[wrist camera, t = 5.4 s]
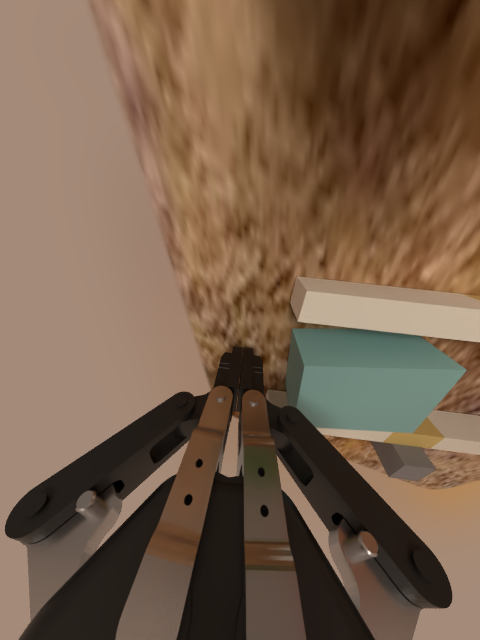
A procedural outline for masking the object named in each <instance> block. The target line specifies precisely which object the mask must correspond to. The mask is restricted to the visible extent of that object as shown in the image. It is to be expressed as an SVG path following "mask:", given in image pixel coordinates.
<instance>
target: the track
mask: <svg viewBox="0 0 480 640" xmlns="http://www.w3.org/2000/svg"><path fill="white" fill-rule="evenodd" d="M290 304H291V306H292V309H293V311H294V314H295V316H296V319H297V321H298V322H304V323H313V324H322V325H331V326H340V327H349V328H357V329H366V330H375V331H384V332H393V333H401V334H410V335H419V336H428V337H437V338H445V339H454V340H463V341H472V342H480V296H476V295H467V294H457V293H448V292H439V291H429V290H420V289H411V288H401V287H392V286H383V285H373V284H364V283H355V282H345V281H336V280H326V279H317V278H308V277H298V276H297V277H296V281H295V285H294V289H293V293H292V297H291V301H290ZM266 399H267V400H268V401H269V402H270V403H272V404H274V405H276V406H278V407H280V408H282V407H284V406H289V403H288V397H287V392H285V391H277V390H269V389H268V390H267V394H266ZM316 429H317V430H318V431H319V432H320V433H321V434H322V435H330V436H338V437H345V438H353V439H361V440H368V441H371V443H372V445H373V447H374V449H375V451H376V453H377V455H378V457H379V459H380V461H381V463H382V465H383V467H384V469H385V470H386V472H387V474H388V476H389V477H392V478H399V479H407V480H414V481H418V480H420V479H422V478H423V477H425V476H427V475H428V474H430V473H431V472H433V471H435V470H436V468H435V466H434V465H433V464H432V462H431V461H430V459H429V458H428V457H427V455H426V454H425V453H424V451H423V450H422V448H430V449H438V450H446V451H453V452H461V453H469V454H476V455H480V416H479V415H471V414H463V413H455V412H447V411H438V410H432V411H431V413H430V414H429V415H428V416H427V417H426V418H425V420H424V421H423V422H422V423H421V424H420V425H419V427H418V428H417V429H416V430H415V431H414V432H413V433H401V432H383V431H365V430H347V429H329V428H316ZM421 447H422V448H421Z"/></svg>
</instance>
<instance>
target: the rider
mask: <svg viewBox="0 0 480 640" xmlns="http://www.w3.org/2000/svg"><path fill="white" fill-rule="evenodd" d="M466 371H467V370H466V369H465V368H464V367H462V366H461V365H459V364H458V363H457V362H455V361H454V360H452V359H451V358H450V357H448V356H447V355H445V354H444V353H443V352H441V351H440V350H438V349H437V348H436V347H434V346H433V345H432V344H430V343H429V342H427V341H426V340H425V339H423V338H422V337H420V336H419V335H410V334H401V333H393V332H384V331H375V330H366V329H292V334H291V342H290V349H289V357H288V365H287V373H286V381H285V386H286V391H287V397H288V403H289V406H293V407H295V408H297V409H298V410H299V411H300V412H301V413H302V414H303V415H304V416H305V417H306V418H307V419H308V420H309V421H310V422H311V423H312V424H313V425H314V426H315V427H316V428H329V429H347V430H365V431H383V432H401V433H413V432H414V431H415V430H416V429H417V428H418V427H419V425H420V424H421V423H422V422H423V421H424V420H425V418H426V417H427V416H428V415H429V414H430V413H431V411H432V410H433V409H434V408H435V407H436V406H437V405H438V403H439V402H440V401H441V400H442V399H443V398H444V396H445V395H446V394H447V393H448V392H449V391H450V389H451V388H452V387H453V386H454V385H455V384H456V382H457V381H458V380H459V379H460V378H461V377H462V375H463V374H464V373H465V372H466Z"/></svg>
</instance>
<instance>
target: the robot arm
mask: <svg viewBox="0 0 480 640" xmlns="http://www.w3.org/2000/svg"><path fill="white" fill-rule="evenodd" d="M242 350H243V356H242ZM241 360H242V364H241ZM240 369H241V373H240ZM239 378H240V383H239ZM238 387H239V393H238ZM237 395H238V402H237ZM236 403H237V411H238V412H240V414H239V423H238V463H237V476H235V477H226V476H224V475H222V474H220V472H221V466H222V460H223V455H224V450H225V445H226V440H227V435H228V431H229V425H230V422H231V419H232V411H236ZM188 441H189V443H188V446H187V448H186V451H185V454H184V456H183V459H182V462H181V464H180V467H179V470H178V472H177V474H176V475H174V476H172V477H170V478H169V479H167V480H166V481H165V482H163V483H162V484H161V485H160V486H159V487H158V488H157V489H156V490H155V491H154V492H153V493H152V494H151V495H150V496H149V497H148V498H147V499H146V500H145V501H144V503H142V505H141V506H140V507H139V508H138V509H137V510H136V511H135V512H134V513H133V514H132V515H131V516H130V517H129V518H128V519H127V520H126V521H125V522H124V523H123V524H122V525H121V526H120V527H119V528H118V529H117V530H116V531H115V533H113V534H112V535H111V536H110V538H108V539H107V541H106V542H105V543H104V544H103V545H102V546H101V547H100V548H99V549H98V550H97V548H98V546H99V544H100V542H101V541H102V539H103V538H104V536H105V535H106V534H107V533H108V531H109V530H110V529H111V528H112V527H113V525H114V524H115V523H116V521H117V519H118V517H119V515H120V512H121V508H122V500H123V499H125V498H126V497H127V496H128V495H129V494H130V493H131V492H132V491H133V490H135V489H136V488H137V487H138V486H139V485H140V484H141V483H142V482H143V481H144V480H146V479H147V478H148V477H149V476H150V475H151V474H152V473H153V472H154V471H156V470H157V469H158V468H159V467H160V466H161V465H162V464H163V463H164V462H166V460H168V459H169V458H170V457H171V456H172V455H173V454H174V453H176V452H177V451H178V450H179V449H180V448H181V447H182V446H183V445H184V444H185V443H187V442H188ZM276 455H277V456H278V457H279V459H280V460H281V462H282V463H283V465H284V466H285V467H286V469H287V471H288V472H289V473H290V475H291V476H292V478H293V479H294V481H295V482H296V484H297V485H298V487H299V488H300V490H301V491H302V493H303V494H304V495H305V497H306V498H307V500H308V501H309V503H310V504H311V506H312V507H313V509H314V510H315V512H316V513H317V514H318V516H319V517H320V518H321V520H322V522H323V523H324V525H325V526H326V528H327V529H328V531H329V532H330V533H329V548H330V552H331V555H332V558H333V560H334V562H335V564H336V566H337V568H338V570H339V572H340V574H341V577H342V580H343V583H344V586H343V585H342V583H341V581H340V580H339V578H338V576H337V575H336V573H335V571H334V570H333V568H332V566H331V565H330V563H329V561H328V559H327V558H326V556H325V554H324V553H323V551H322V549H321V548H320V546H319V545H318V543H317V541H316V539H315V538H314V536H313V534H312V533H311V531H310V529H309V528H308V526H307V525H306V523H305V521H304V520H303V518H302V516H301V514H300V513H299V511H298V510H297V508H296V506H295V504H294V503H293V502H292V500H291V499H290V498H289V497H288V496H287V494H286V493H285V492H284V491H283V490H281V484H280V477H279V470H278V463H277V456H276ZM5 533H6V535H7V536H8V537H9V538H12V539H15V540H18V541H20V542H21V543H22V544H24V545H26V547H27V552H28V573H29V595H30V614H31V622H30V624H29V625H28V626H27V628H26V629H25V631H24V632H23V634H22V635H21V637H20V638H19V640H412V638H413V635H414V631H415V627H416V624H417V620H418V617H419V613H420V611H421V609H423V608H447V607H449V606H450V604H451V602H452V590H451V586H450V583H449V580H448V577H447V575H446V573H445V571H444V569H443V567H442V565H441V564H440V562H439V561H438V559H437V558H436V556H435V555H434V554H433V552H432V551H431V550H430V549H429V548H428V547H427V546H426V545H425V543H424V542H423V541H422V540H421V539H420V538H419V537H418V536H417V535H416V534H415V533H414V532H413V531H412V530H411V529H410V528H409V527H408V525H407V524H406V523H405V522H404V521H403V520H402V519H401V518H400V517H399V516H398V515H397V514H396V513H395V512H394V510H392V509H391V507H390V506H389V505H388V504H387V503H386V502H385V501H384V500H383V499H382V498H381V497H380V496H379V495H378V493H377V492H376V491H375V490H374V489H373V488H372V487H371V486H370V485H369V484H368V483H367V482H366V481H365V480H364V479H363V478H362V476H361V475H360V474H359V473H358V472H357V471H356V470H355V469H354V468H353V467H352V466H351V465H350V464H349V463H348V462H347V460H346V459H345V458H344V457H343V456H342V455H341V454H340V453H339V452H338V451H337V450H336V449H335V448H334V447H333V446H332V444H331V443H330V442H329V441H328V440H327V439H326V438H325V437H324V436H323V435H322V434H321V433H320V432H319V431H318V430H317V429H316V427H315V426H314V425H313V424H312V423H311V422H310V421H309V420H308V419H307V418H306V417H305V416H304V415H303V414H302V413H301V412H300V411H299V410H298V409H297V408H295V407H293V406H284V407H282V408H280V407H278V406H276V405H274V404H272V403H270V402H269V401H268V400H267V399H266V397H265V395H264V385H263V362H262V360H261V358H260V356H253V348H244V349H243V347H236V346H233V351H232V353H228V352H225V353H224V354H223V356H222V357H221V360H220V364H219V368H218V372H217V376H216V380H215V384H214V387H213V389H212V390H211V391H210V392H209V393H207V394H205V395H201V396H195V397H194V396H193V395H192V394H191V393H189V392H179V393H177V394H175V395H174V396H172V397H171V398H169V399H168V400H166V401H165V402H163V403H162V404H160V405H159V406H157V407H156V408H154V409H153V410H151V411H149V412H148V413H147V414H145V415H143V416H142V417H140V418H139V419H137V420H136V421H134V422H133V423H131V424H130V425H128V426H127V427H125V428H124V429H122V430H121V431H119V432H118V433H116V434H115V435H113V436H112V437H110V438H109V439H107V440H106V441H104V442H103V443H101V444H100V445H98V446H97V447H95V448H94V449H92V450H91V451H89V452H88V453H86V454H85V455H83V456H81V457H80V458H78V459H77V460H76V461H74V462H73V463H71V464H69V465H68V466H66V467H65V468H63V469H62V470H60V471H59V472H57V473H56V474H54V475H53V476H51V477H50V478H48V479H47V480H45V481H44V482H42V483H41V484H39V485H38V486H36V487H35V488H33V489H32V490H31V491H29V492H28V493H27V494H26V495H25V496H24V497H23V498H22V499H21V500H20V501H19V502H18V503H17V504H16V506H15V507H14V508H13V510H12V511H11V513H10V515H9V517H8V519H7V521H6V525H5ZM96 550H97V551H96ZM344 587H345V588H344Z"/></svg>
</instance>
